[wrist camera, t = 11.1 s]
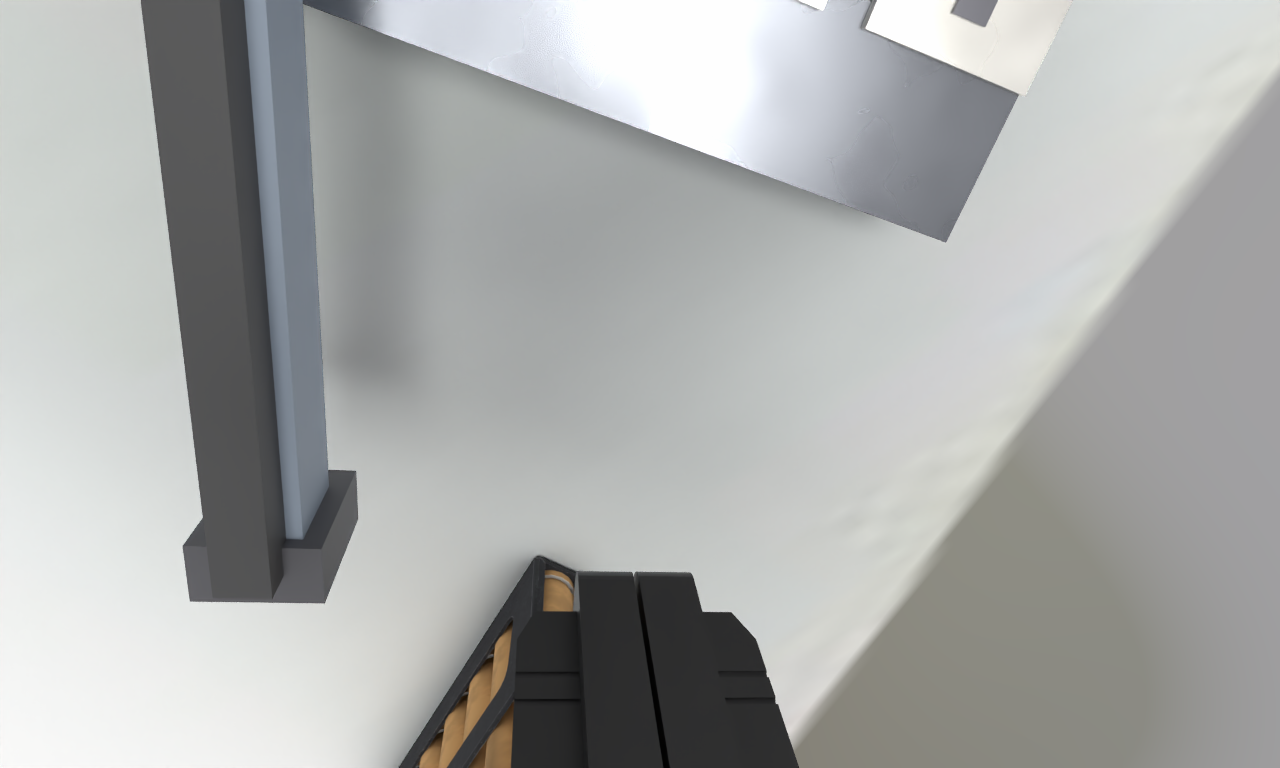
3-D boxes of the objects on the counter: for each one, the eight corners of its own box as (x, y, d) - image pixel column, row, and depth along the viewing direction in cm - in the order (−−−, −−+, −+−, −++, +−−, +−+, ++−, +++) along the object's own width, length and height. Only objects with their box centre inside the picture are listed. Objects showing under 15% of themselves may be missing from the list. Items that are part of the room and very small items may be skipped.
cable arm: (324, -328, 13) (243, -455, 10) (358, 518, 19) (315, 626, 15) (157, -352, 13) (13, -493, 9) (244, 515, 18) (174, 625, 15)
